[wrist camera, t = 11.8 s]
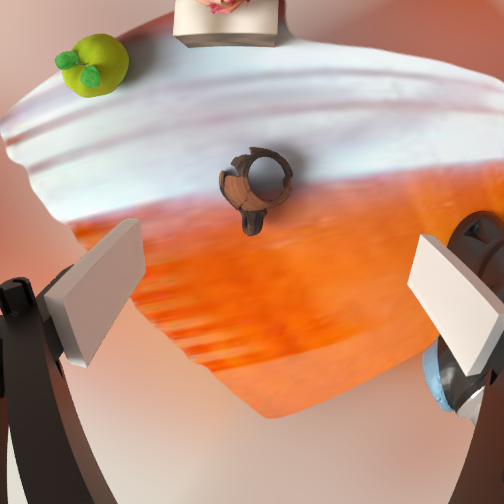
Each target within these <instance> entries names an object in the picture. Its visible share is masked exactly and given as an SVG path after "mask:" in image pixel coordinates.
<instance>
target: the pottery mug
mask: <svg viewBox="0 0 504 504" xmlns="http://www.w3.org/2000/svg"><path fill="white" fill-rule="evenodd" d="M249 149H250V150H251V155H247V154H245V155H241V156H240V157H235V158H234V159H233V161H232V162H231V165H233V166H235V168H236V170H237V171H238V173H239V175H240V176H231V175H228V176H226V178H225V183H224V175H225V171H221V173H220V176H219V186H220V190H221V192H222V194H223V196H224V197H225V198H226V199H227V200H228V201H229V203H230V204H231V205H232V206H233V207H234V208H235V209H236V210H239V211H240V213H241V215H242V228H243V232H244V233H245V234H247V235H248V236H253V235H257V234H258V233H260V231H261V229H262V226H263V219H264V216H265V215H266V214H267V211H266V210H265V209H266V208H269V209H273V208H274V207H276V206H277V205H279V204H281V203H283V202H284V201H285V200H286V199H287V198H288V197H289V195H290V193H291V190H292V188H290V179H291V178H292V176H293V173H292V170H291V168H290V166H289V164H288V162H287V161H286V159H284V158H283V157H282V156H280V155H279V154H278V153H276V152H273V151H271V150H269V149H264V148H257V147H250V148H249ZM260 157H271V158H273V159H275V160H276V161H277V162H278V163H279V164H280V165H281V166H282V168H283V170H284V173H285V177H284V178H283V186H284V190H283V192H282V194H281V195H280V196H279V197H278V198H276V199H274V200H270V201H266V200H263V199H260V198H259V197H257V196H256V195H255V194H254V192H253V191H252V190H251V187H250V185H249V180H248V172H249V169H250V166H251V165H252V163H253V162H254V161H255V160H256V159H258V158H260Z"/></svg>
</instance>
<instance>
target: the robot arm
mask: <svg viewBox="0 0 504 504" xmlns="http://www.w3.org/2000/svg"><path fill="white" fill-rule="evenodd" d="M145 273H146V268H145V260H144V252H143V243H142V234H141V223H140V218H125V219H124V220H122V221H121V222H120V223H119V224H118V225H117V226H116V227H114V228H113V229H112V230H111V231H110V232H109V233H108V234H107V235H106V236H104V237H103V238H102V239H101V240H100V241H99V242H98V243H97V244H96V245H95V246H94V247H92V248H91V249H90V250H89V251H88V252H87V253H86V254H85V255H84V256H83V257H82V258H81V259H80V260H79V261H78V262H77V263H76V264H73V265H71V266H69V267H68V268H66V269H64V270H63V271H61V273H59V274H58V275H57V276H56V279H53V280H52V281H51V282H50V284H48V285H47V286H46V287H45V288H44V289H43V290H42V291H41V292H40V293H39V294H38V296H37V297H36V298H35V296H34V293H33V290H32V287H31V283H30V281H29V279H27V278H25V277H17V278H13V279H10V280H7V281H6V282H4V283H2V284H1V285H0V309H1V311H2V314H3V315H0V504H8V497H7V442H8V427H10V433H11V438H12V444H13V449H14V454H15V458H16V463H17V467H18V471H19V475H20V479H21V482H22V486H23V489H24V493H25V496H26V499H27V502H28V504H118V503H117V502H116V500H115V498H114V496H113V494H112V492H111V490H110V488H109V487H108V485H107V483H106V481H105V479H104V477H103V474H102V472H101V470H100V468H99V466H98V464H97V462H96V460H95V457H94V455H93V453H92V450H91V448H90V446H89V443H88V441H87V438H86V436H85V433H84V431H83V428H82V426H81V423H80V420H79V418H78V415H77V412H76V409H75V406H74V403H73V400H72V397H71V395H70V391H69V388H68V385H67V382H66V378H65V375H64V371H63V367H62V364H61V362H60V360H59V357H60V356H61V354H62V353H63V351H64V353H65V355H66V357H67V360H68V362H69V364H74V365H77V366H82V367H86V368H87V367H88V365H89V364H90V362H91V360H92V359H93V357H94V355H95V353H96V351H97V350H98V348H99V346H100V345H101V343H102V341H103V340H104V338H105V336H106V335H107V333H108V331H109V329H110V328H111V326H112V325H113V323H114V321H115V320H116V318H117V316H118V315H119V313H120V312H121V310H122V308H123V307H124V305H125V304H126V302H127V300H128V299H129V297H130V296H131V294H132V293H133V291H134V289H135V288H136V286H137V285H138V283H139V282H140V280H141V279H142V277H143V276H144V274H145ZM407 285H408V286H409V288H410V289H411V290H412V292H413V293H414V295H415V296H416V298H417V299H418V300H419V302H420V303H421V305H422V306H423V308H424V309H425V311H426V312H427V314H428V315H429V317H430V318H431V320H432V321H433V323H434V324H435V326H436V328H437V329H438V331H439V332H440V335H438V337H437V339H436V340H435V341H434V342H433V343H432V344H431V345H430V346H429V347H428V348H427V349H426V350H425V351H424V353H423V357H422V369H423V373H424V377H425V380H426V382H427V385H428V387H429V389H430V392H431V394H432V395H433V397H434V398H436V401H437V403H438V405H439V406H440V407H441V409H442V410H444V411H446V412H451V411H454V410H455V412H456V414H457V416H458V417H461V418H468V419H470V420H472V422H473V424H474V426H475V431H474V434H473V438H472V441H471V444H470V448H469V451H468V454H467V457H466V460H465V463H464V466H463V469H462V471H461V474H460V477H459V479H458V482H457V484H456V487H455V489H454V492H453V494H452V496H451V499H450V501H449V503H448V504H504V222H503V221H502V220H501V219H500V218H498V217H497V216H495V215H494V214H492V213H490V212H487V211H478V212H475V213H473V214H471V215H469V216H467V217H466V218H465V219H464V220H463V221H462V222H461V223H460V224H459V225H458V226H457V227H456V229H455V230H454V232H453V234H452V236H451V238H450V240H449V243H448V246H447V247H446V246H444V245H443V244H442V243H441V242H440V241H439V240H438V239H437V238H435V237H434V236H433V235H424V234H420V238H419V242H418V246H417V250H416V254H415V258H414V262H413V265H412V269H411V272H410V276H409V279H408V283H407Z"/></svg>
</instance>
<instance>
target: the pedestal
mask: <svg viewBox="0 0 504 504" xmlns="http://www.w3.org/2000/svg"><path fill="white" fill-rule="evenodd" d="M278 1H279V0H251V1H250V2H249V4H248V6H247V1H244V2H243V3H241V4H240V5H239V6H238V7H237V8H236V9H235V10H234V11H233V12H231V13H227V14H219V13H215V14H211V13H210V8H209V6H208V7H206V5H205V4H202V3H200V2H197V1H195V0H176V5H175V16H174V28H173V36H175V37H176V38H177V39H178V40H180V41H181V42H182V43H183V44H185V45H186V46H187V47H188V48H190V47H212V46H255V47H275V44H276V38H277V29H278Z"/></svg>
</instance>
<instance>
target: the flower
mask: <svg viewBox="0 0 504 504" xmlns="http://www.w3.org/2000/svg"><path fill="white" fill-rule="evenodd" d="M195 1H197V2H200V3H202V4H205V5H206V7H208V6H209V8H210V13H211V14H215V13H219V14H227V13H231V12H233V11H234V10H235V9H236V8H237V7H238V6H239V5H240V4H241V3H243V2H244V1H247V6H248V4H249V2H250V1H251V0H195Z"/></svg>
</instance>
